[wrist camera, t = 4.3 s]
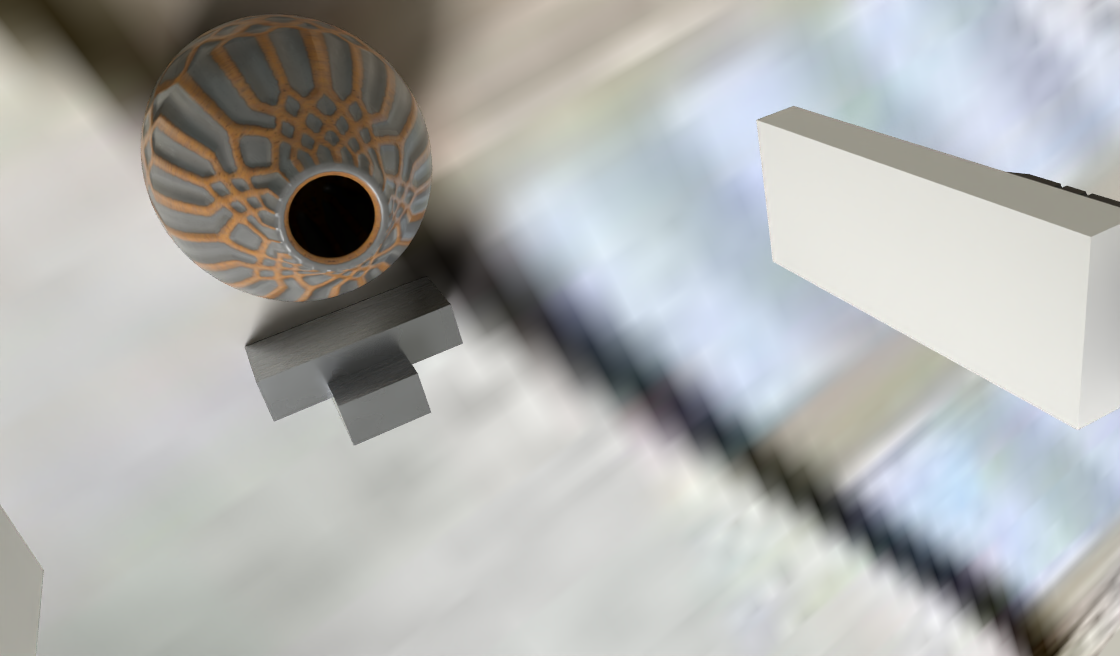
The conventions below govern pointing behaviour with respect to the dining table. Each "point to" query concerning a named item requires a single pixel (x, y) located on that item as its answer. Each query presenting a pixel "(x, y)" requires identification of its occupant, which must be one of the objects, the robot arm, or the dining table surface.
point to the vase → (286, 157)
